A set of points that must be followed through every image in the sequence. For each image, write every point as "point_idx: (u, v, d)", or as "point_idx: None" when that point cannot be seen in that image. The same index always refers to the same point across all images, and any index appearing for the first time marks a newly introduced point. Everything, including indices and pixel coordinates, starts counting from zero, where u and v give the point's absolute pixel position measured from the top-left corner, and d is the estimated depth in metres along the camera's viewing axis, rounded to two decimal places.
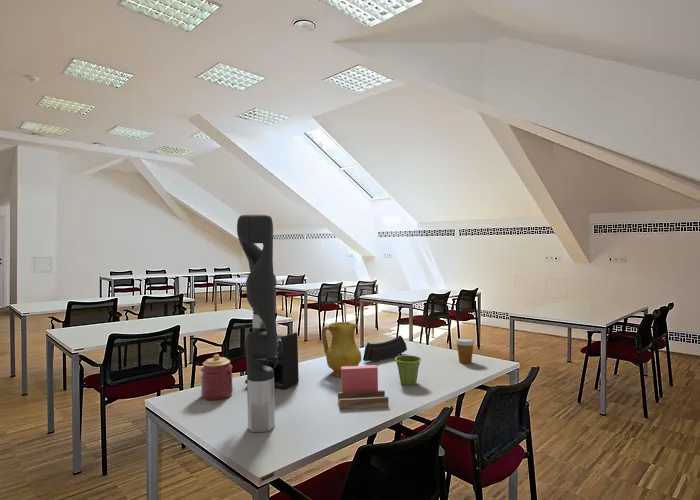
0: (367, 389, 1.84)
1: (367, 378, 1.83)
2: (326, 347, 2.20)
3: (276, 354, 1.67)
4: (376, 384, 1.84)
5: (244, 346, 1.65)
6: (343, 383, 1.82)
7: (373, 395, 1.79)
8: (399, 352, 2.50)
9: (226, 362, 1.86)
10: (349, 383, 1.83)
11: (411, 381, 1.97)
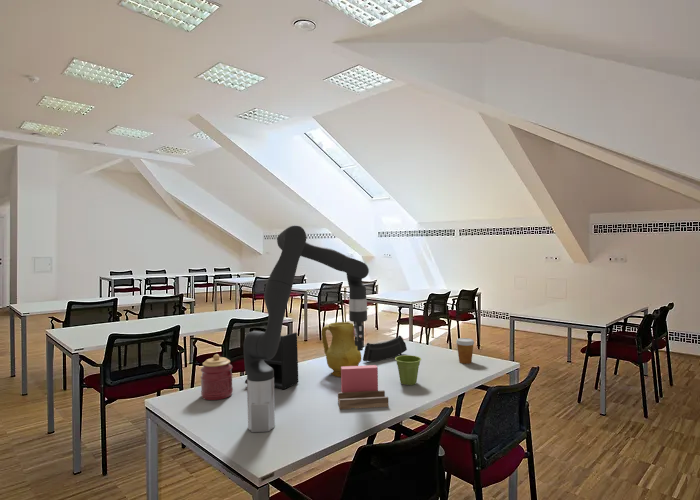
0: (367, 389, 1.84)
1: (367, 378, 1.83)
2: (326, 347, 2.20)
3: None
4: (376, 384, 1.84)
5: None
6: (343, 383, 1.82)
7: (373, 395, 1.79)
8: (399, 352, 2.49)
9: (226, 362, 1.86)
10: (349, 383, 1.83)
11: (411, 381, 1.97)
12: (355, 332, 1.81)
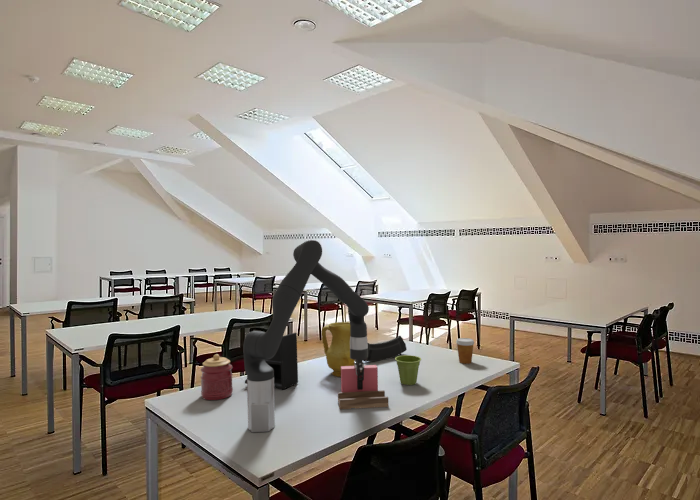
0: (367, 389, 1.83)
1: (367, 378, 1.83)
2: (326, 347, 2.20)
3: None
4: (376, 384, 1.84)
5: (363, 372, 1.79)
6: (343, 383, 1.82)
7: (373, 395, 1.79)
8: (399, 352, 2.49)
9: (226, 362, 1.86)
10: (349, 383, 1.83)
11: (411, 381, 1.97)
12: None
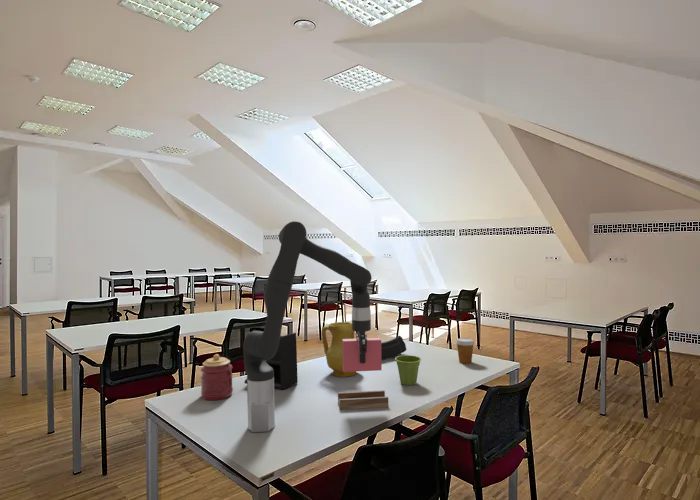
0: (370, 362, 1.73)
1: (370, 351, 1.73)
2: (326, 347, 2.20)
3: None
4: (379, 357, 1.74)
5: (366, 343, 1.69)
6: (345, 356, 1.72)
7: (373, 395, 1.79)
8: (398, 352, 2.49)
9: (226, 362, 1.86)
10: (351, 356, 1.73)
11: (411, 381, 1.97)
12: (358, 344, 1.72)
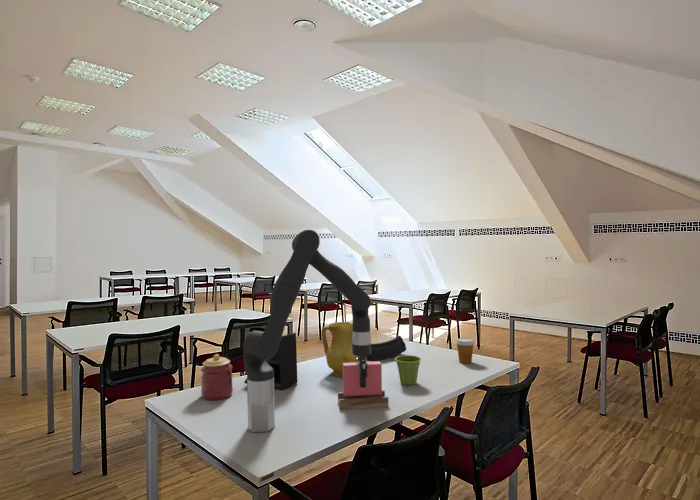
0: (371, 387, 1.74)
1: (371, 375, 1.74)
2: (326, 347, 2.20)
3: None
4: (380, 381, 1.74)
5: None
6: (345, 380, 1.73)
7: (373, 395, 1.79)
8: (398, 352, 2.49)
9: (226, 362, 1.86)
10: (351, 380, 1.73)
11: (411, 381, 1.97)
12: (358, 368, 1.73)
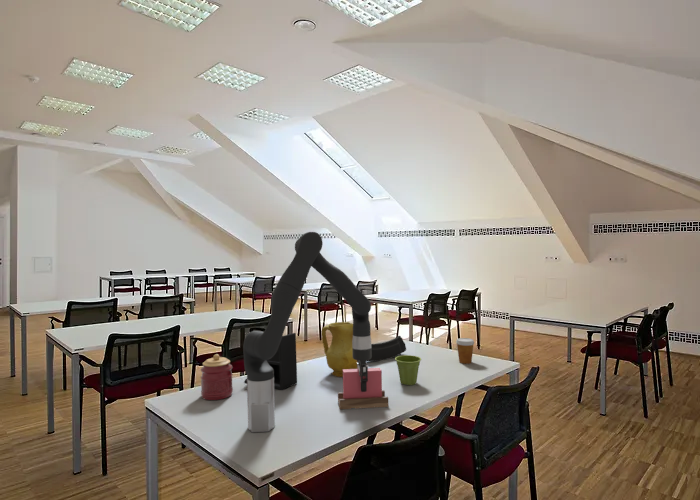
0: (371, 393, 1.73)
1: (371, 382, 1.73)
2: (326, 347, 2.20)
3: None
4: (380, 388, 1.74)
5: (367, 371, 1.69)
6: (345, 387, 1.72)
7: None
8: (398, 352, 2.49)
9: (226, 362, 1.86)
10: (351, 387, 1.73)
11: (411, 381, 1.97)
12: (359, 372, 1.72)
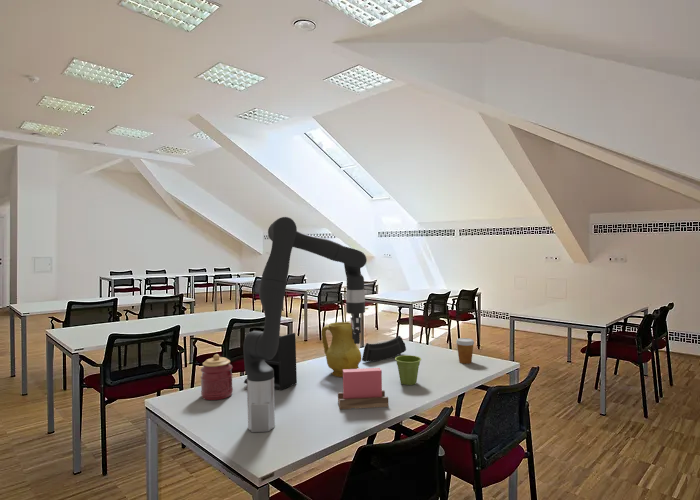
0: (371, 393, 1.73)
1: (371, 382, 1.73)
2: (326, 347, 2.20)
3: None
4: (380, 388, 1.74)
5: (360, 322, 1.69)
6: (345, 387, 1.72)
7: None
8: (398, 352, 2.49)
9: (226, 362, 1.86)
10: (351, 387, 1.73)
11: (411, 381, 1.97)
12: (352, 324, 1.73)
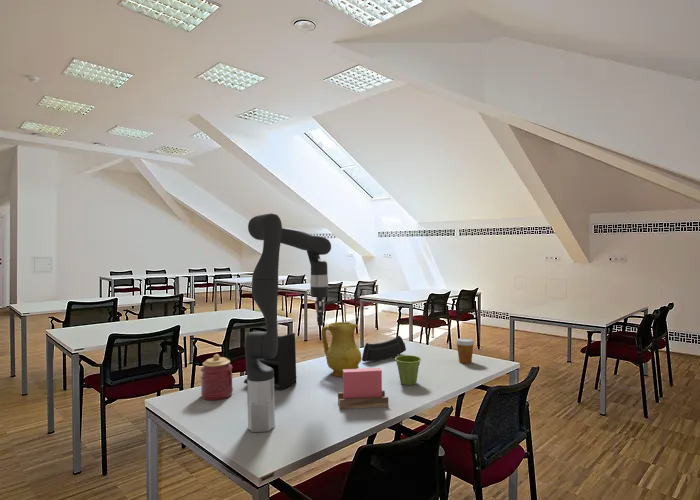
0: (371, 393, 1.73)
1: (371, 382, 1.73)
2: (326, 347, 2.20)
3: None
4: (380, 388, 1.74)
5: (323, 305, 1.79)
6: (345, 387, 1.72)
7: None
8: (398, 352, 2.49)
9: (226, 362, 1.86)
10: (351, 387, 1.73)
11: (411, 381, 1.97)
12: (316, 307, 1.83)
